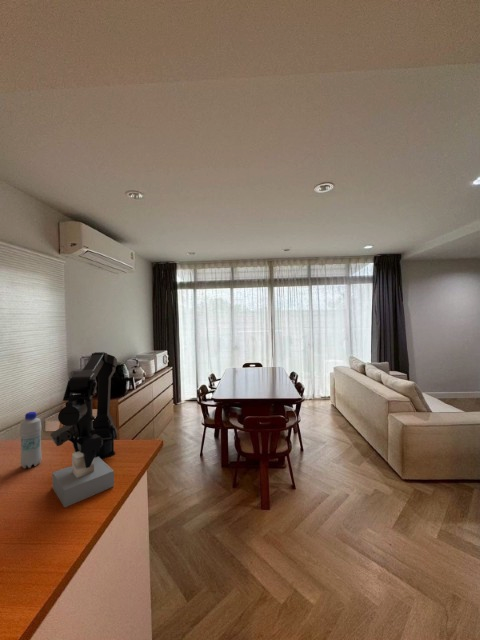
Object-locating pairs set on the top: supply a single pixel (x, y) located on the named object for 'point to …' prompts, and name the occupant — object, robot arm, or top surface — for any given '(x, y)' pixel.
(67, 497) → the plinth
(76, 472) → the cream block
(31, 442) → the bottle
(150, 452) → the top surface
